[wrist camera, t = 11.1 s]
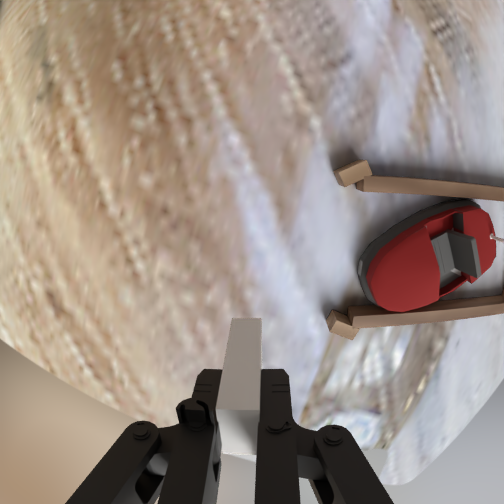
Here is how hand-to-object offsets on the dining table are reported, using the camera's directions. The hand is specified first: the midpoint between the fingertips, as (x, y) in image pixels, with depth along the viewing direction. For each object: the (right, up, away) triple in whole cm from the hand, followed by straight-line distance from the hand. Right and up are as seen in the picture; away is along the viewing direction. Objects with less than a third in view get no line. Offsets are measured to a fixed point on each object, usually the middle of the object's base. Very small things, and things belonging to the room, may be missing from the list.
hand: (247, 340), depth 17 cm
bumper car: (+21, +5, +17) cm, 27 cm away
